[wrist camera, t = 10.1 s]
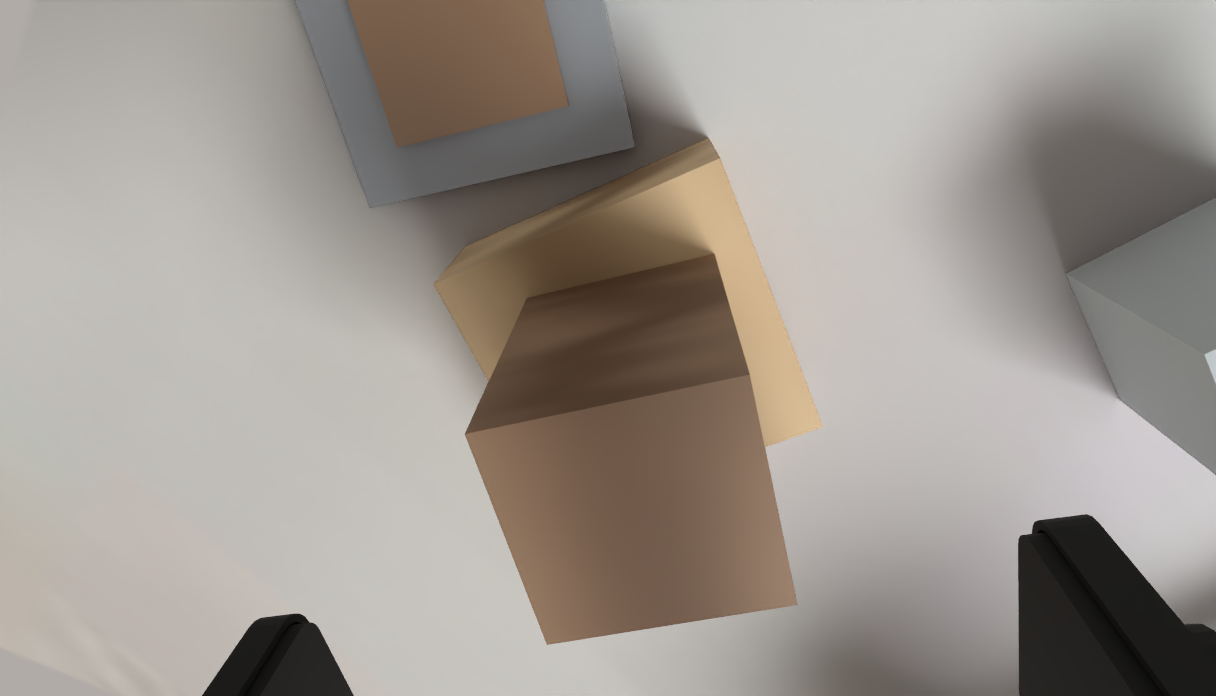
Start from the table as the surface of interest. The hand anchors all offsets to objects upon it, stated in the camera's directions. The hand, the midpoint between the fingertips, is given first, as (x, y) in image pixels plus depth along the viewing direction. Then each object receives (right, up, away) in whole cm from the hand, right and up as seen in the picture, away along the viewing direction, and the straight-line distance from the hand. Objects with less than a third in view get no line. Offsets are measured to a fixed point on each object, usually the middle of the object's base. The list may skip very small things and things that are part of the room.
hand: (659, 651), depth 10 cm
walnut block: (0, +4, +10) cm, 11 cm away
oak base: (0, +5, +14) cm, 15 cm away
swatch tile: (-5, +13, +10) cm, 17 cm away
